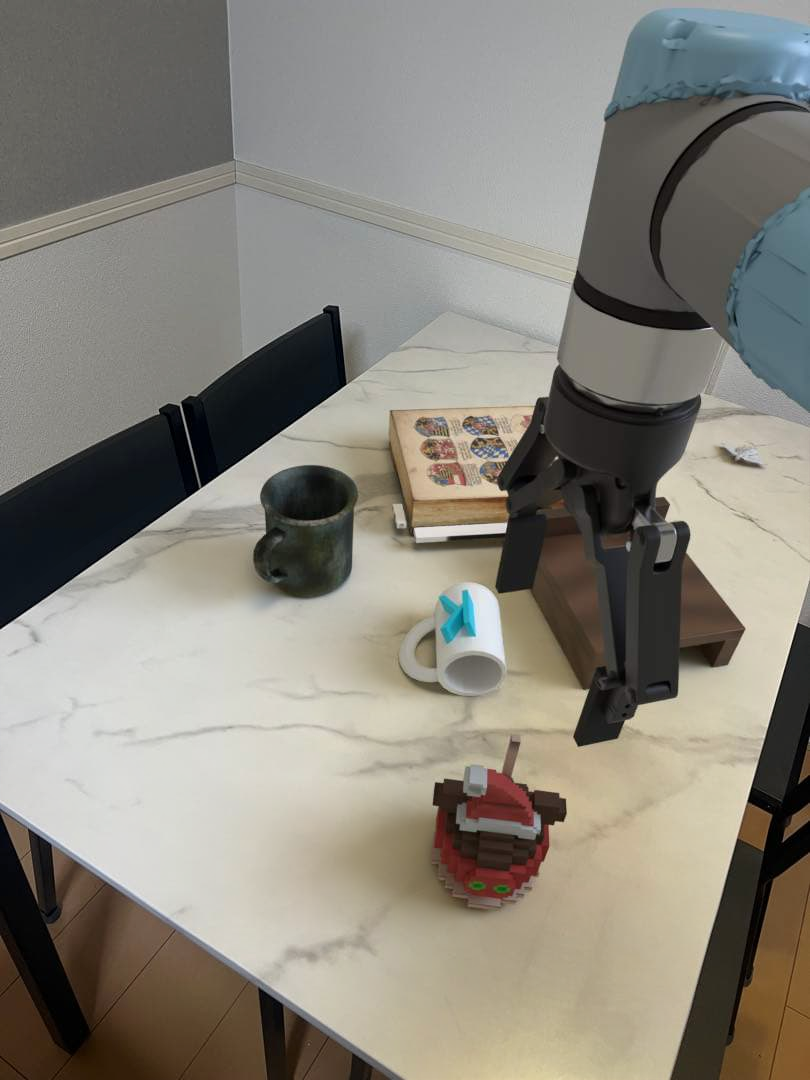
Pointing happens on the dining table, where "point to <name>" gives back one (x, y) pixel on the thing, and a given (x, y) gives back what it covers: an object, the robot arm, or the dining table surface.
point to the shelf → (575, 606)
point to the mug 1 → (307, 530)
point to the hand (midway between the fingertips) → (550, 656)
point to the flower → (745, 453)
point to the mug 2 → (461, 642)
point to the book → (455, 469)
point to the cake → (492, 833)
